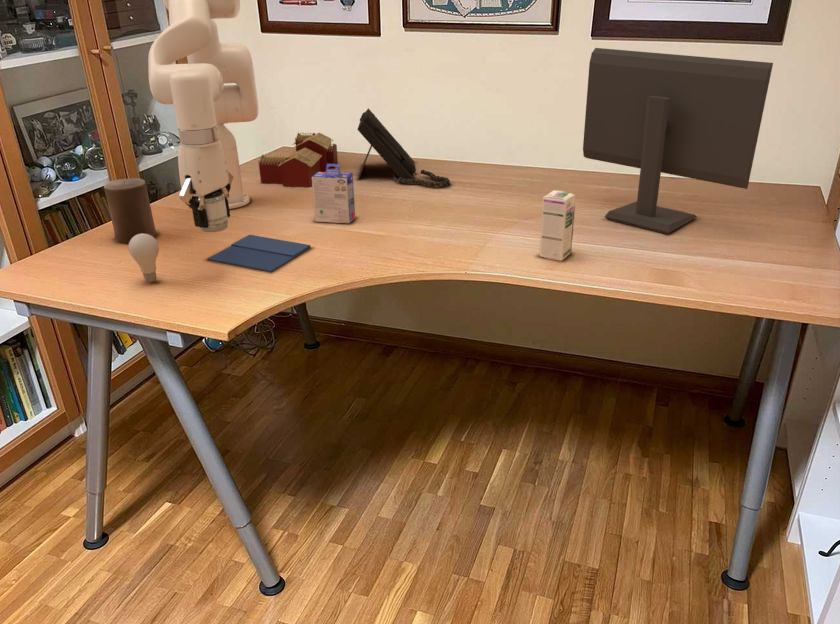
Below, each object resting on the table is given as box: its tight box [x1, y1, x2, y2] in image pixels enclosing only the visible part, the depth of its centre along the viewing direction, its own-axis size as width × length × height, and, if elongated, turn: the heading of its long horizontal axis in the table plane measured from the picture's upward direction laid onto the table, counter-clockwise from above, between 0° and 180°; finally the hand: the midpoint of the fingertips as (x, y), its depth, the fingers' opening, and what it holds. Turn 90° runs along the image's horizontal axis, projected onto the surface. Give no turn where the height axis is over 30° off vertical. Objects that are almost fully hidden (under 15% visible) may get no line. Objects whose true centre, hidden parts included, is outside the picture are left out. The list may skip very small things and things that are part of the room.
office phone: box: [357, 107, 451, 188], centre depth 219 cm, size 29×28×20 cm
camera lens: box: [196, 190, 229, 233], centre depth 150 cm, size 6×6×8 cm
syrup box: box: [539, 189, 577, 262], centre depth 161 cm, size 6×6×14 cm
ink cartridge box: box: [311, 163, 356, 224], centre depth 185 cm, size 10×6×14 cm, turn 78°
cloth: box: [207, 234, 311, 273], centre depth 168 cm, size 18×16×1 cm
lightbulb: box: [127, 234, 160, 284], centre depth 152 cm, size 6×6×11 cm
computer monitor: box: [582, 47, 774, 235], centre depth 176 cm, size 44×16×40 cm, turn 47°
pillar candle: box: [103, 177, 157, 244], centre depth 176 cm, size 10×10×15 cm
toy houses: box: [255, 132, 339, 188], centre depth 232 cm, size 45×20×10 cm, turn 173°
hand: (212, 220), depth 151 cm, fingers closed on camera lens, 6 cm apart
